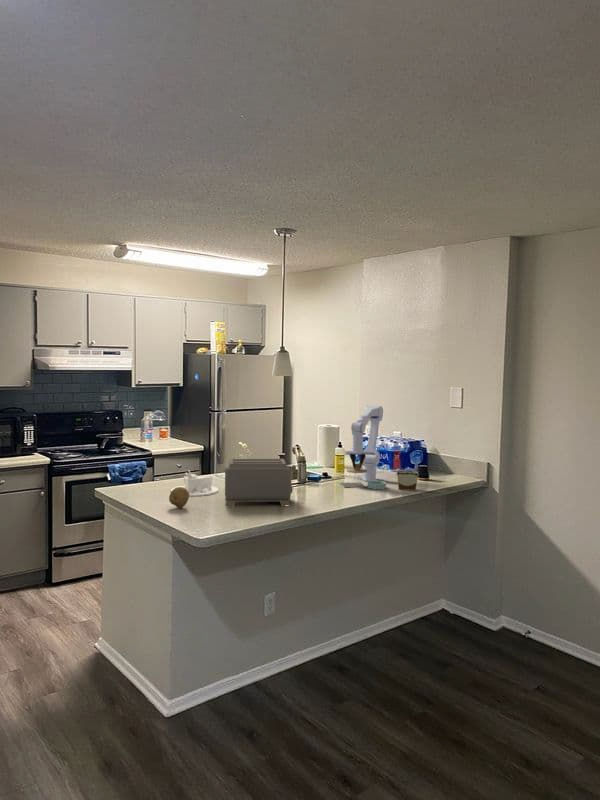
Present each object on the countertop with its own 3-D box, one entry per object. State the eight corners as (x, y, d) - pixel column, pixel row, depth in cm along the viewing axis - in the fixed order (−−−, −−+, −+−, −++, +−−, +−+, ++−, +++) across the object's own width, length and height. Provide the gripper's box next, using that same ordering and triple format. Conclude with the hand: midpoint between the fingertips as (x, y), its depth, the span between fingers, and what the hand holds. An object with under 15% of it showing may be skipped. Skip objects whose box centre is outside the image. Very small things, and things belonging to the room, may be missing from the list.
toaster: (297, 506, 301) (298, 464, 299) (224, 507, 296) (225, 464, 295) (293, 497, 320) (294, 458, 318) (224, 498, 315) (225, 458, 314)
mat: (340, 483, 357) (340, 482, 357) (360, 483, 359) (360, 482, 359) (344, 487, 346) (344, 487, 346) (365, 487, 348) (365, 486, 347)
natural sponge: (173, 511, 286) (174, 489, 285) (165, 507, 293) (165, 486, 292) (192, 508, 291) (192, 487, 290) (183, 505, 298) (183, 484, 298)
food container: (417, 488, 349) (418, 470, 348) (418, 490, 342) (419, 472, 342) (395, 487, 350) (395, 469, 349) (395, 489, 344) (396, 471, 343)
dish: (175, 498, 313) (175, 476, 313) (167, 488, 337) (167, 467, 336) (223, 495, 322) (223, 473, 322) (211, 485, 346) (212, 465, 345)
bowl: (365, 485, 352) (365, 480, 351) (382, 485, 353) (383, 480, 353) (370, 489, 342) (370, 484, 342) (388, 489, 343) (388, 484, 343)
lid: (345, 470, 355) (345, 462, 355) (363, 470, 357) (364, 462, 357) (350, 473, 345) (350, 465, 344) (369, 472, 346) (369, 465, 346)
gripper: (346, 444, 345) (346, 468, 346) (372, 444, 347) (371, 468, 348) (343, 442, 352) (343, 466, 353) (368, 442, 354) (368, 466, 355)
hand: (357, 467), depth 351 cm, fingers closed on lid, 3 cm apart
